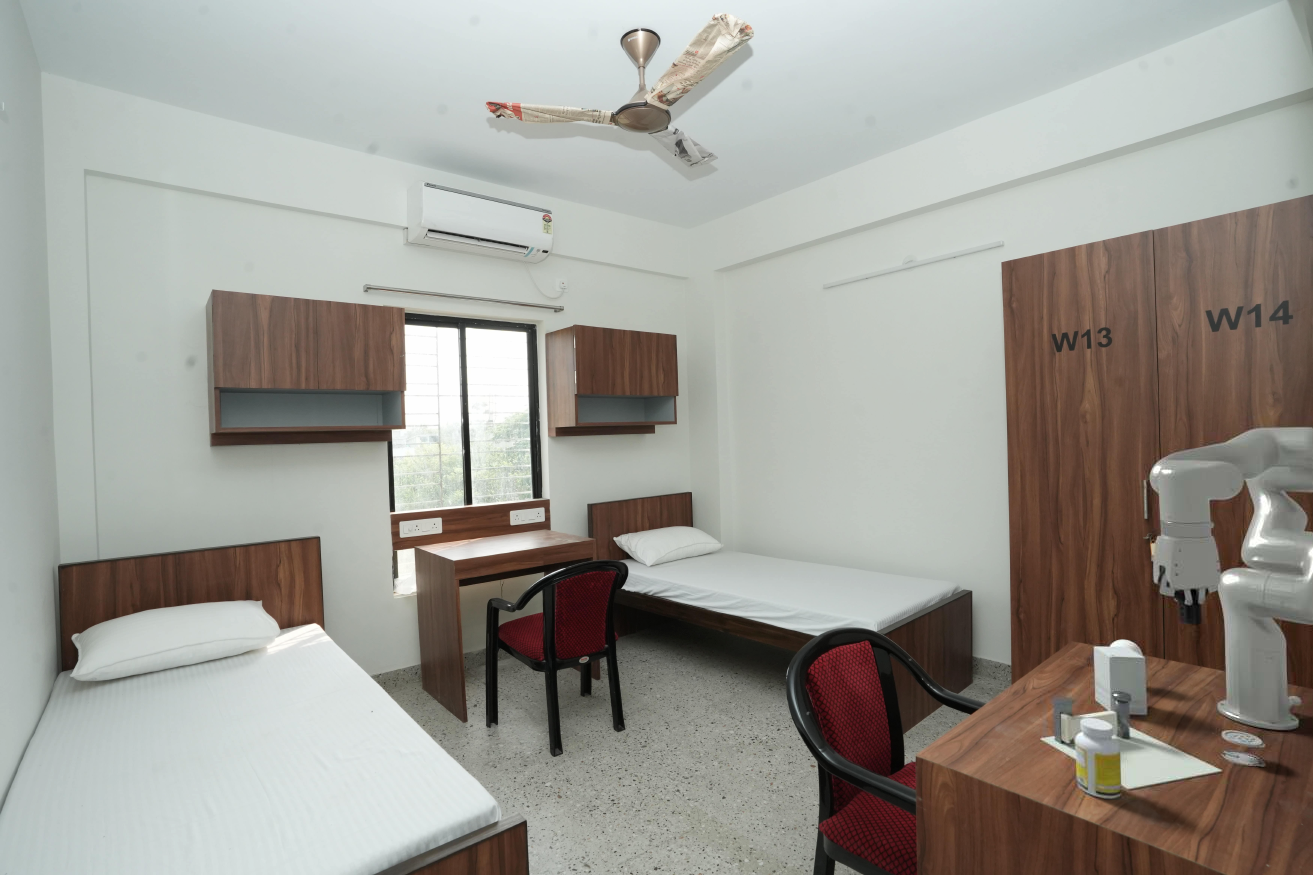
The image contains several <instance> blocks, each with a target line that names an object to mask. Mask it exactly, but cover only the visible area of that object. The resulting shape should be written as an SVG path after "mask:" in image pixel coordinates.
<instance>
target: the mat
mask: <svg viewBox="0 0 1313 875" xmlns="http://www.w3.org/2000/svg"><path fill="white" fill-rule="evenodd" d="M1112 738H1113V739H1114V740H1115V741H1117V743H1118V744H1119V746H1120V761H1121V787H1123V789H1124V788H1125V789H1126V790H1128V791H1129V790H1134V789H1140V788H1144V787H1151V786H1155V785H1159V784H1166V783H1170V782H1175V781H1181V780H1186V779H1191V778H1195V777H1202V776H1206V775H1211V774H1217V773H1222V772H1223V769H1220V768H1218V767H1216V766H1214V765H1212V764H1209V763H1207V762H1205V761H1203V760H1201V759H1199V758H1196V757H1195V756H1192V755H1190V754H1188V753H1186V752H1184V751H1182V750H1180V749H1177V748H1175V747H1173V746H1171V745H1169V744H1167V743H1164V742H1163V741H1160V740H1159V739H1156V738H1154V737H1152V736H1150V735H1148V734H1145V733H1144V732H1141V731H1138V730H1137V729H1135V728H1133V727H1131V726H1130V739H1121V738H1118V737H1117V736H1116V735H1113V736H1112ZM1040 741H1042V742H1044V743H1046V744H1048V745H1049V746H1051V747H1053V748H1055V749H1056V750H1058V751H1060V752H1062V753H1064V754H1065V755H1067V756H1069V757H1071V758H1072V759H1074V760H1076V748H1075V742H1074V743H1073V744H1069V745H1068V744H1066V743H1063V744H1060V743H1058V742H1057V741H1055V735H1053V736H1052V735H1051V736H1047V737H1041V738H1040Z"/></svg>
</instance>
